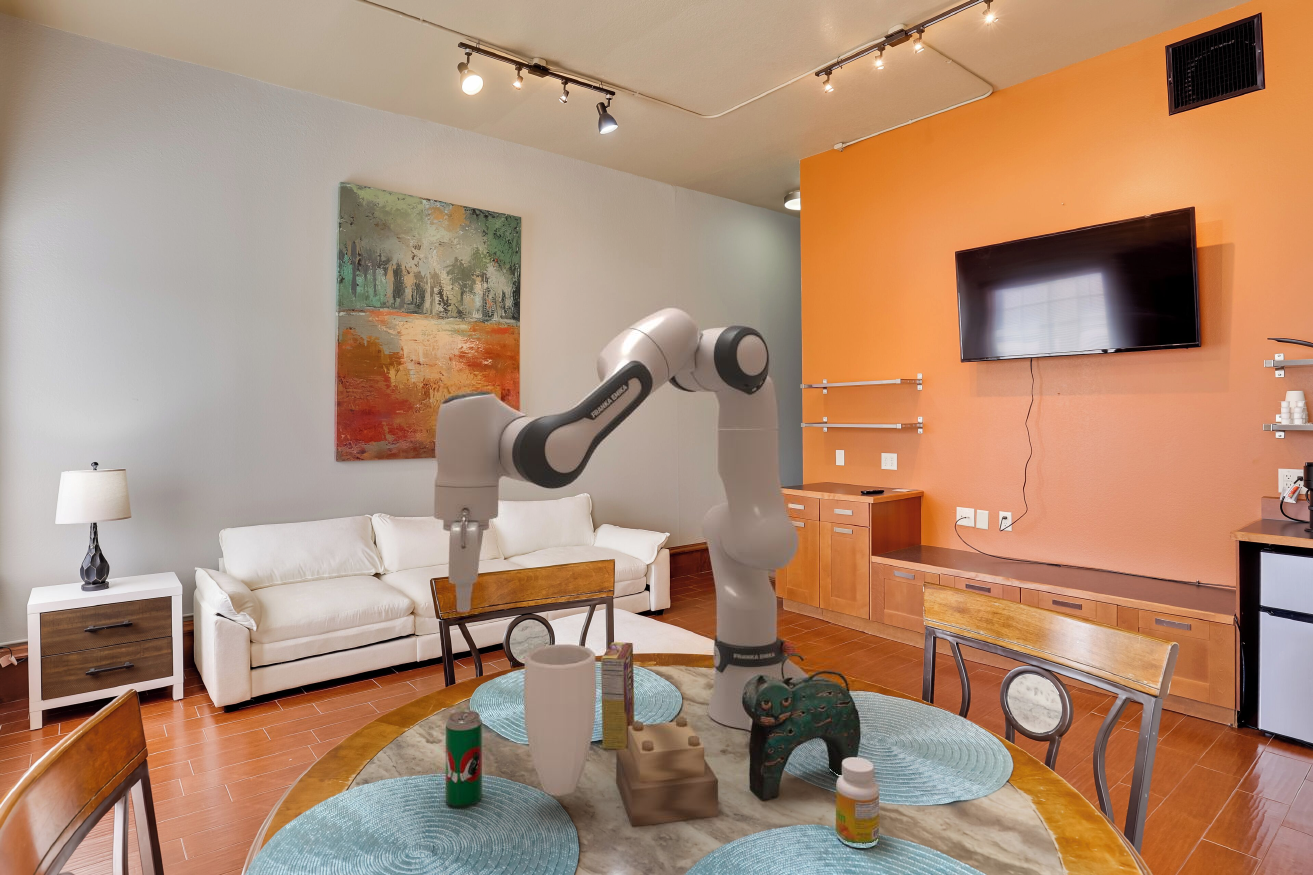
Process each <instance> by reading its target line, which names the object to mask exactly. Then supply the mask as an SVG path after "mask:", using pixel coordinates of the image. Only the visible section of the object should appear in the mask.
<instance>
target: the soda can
mask: <svg viewBox="0 0 1313 875" xmlns="http://www.w3.org/2000/svg"><path fill="white" fill-rule="evenodd" d="M480 716H481V715H480V713H479V712H478V711H475V710H459V711H456V712H454V713H452V714H450V715H449V716H448V718H447V720H448V721H447V722H446V723H445V801H446V802H447V804H449V805H450V806H451V807H454V808H466V807H471V806H473V805H475V804H477V802H478V801H479V800H480V799H481V798H482V796H483V721H482V718H480ZM470 805H471V806H470Z"/></svg>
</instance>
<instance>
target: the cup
mask: <svg viewBox="0 0 1313 875" xmlns="http://www.w3.org/2000/svg"><path fill="white" fill-rule="evenodd" d="M596 667H597V666H596V654H595V652H594V651H593V650H592V649H590V647H586V646H583V645H577V644H564V643H563V644H551V645H544V646H540V647H536V648H534V649H532V650H530V651H529V652H527V654H526V656H525V658H524V678H523V679H524V680H523V708H524V709H523V711H524V727H525V732H526V733H525V734H526V737H527V743H528V746H529V753H530V758H531V760H532V762H533V766H534V768H535V771H536V772H535V773H536V775H537V778H538V780H539V783H540V785H541V786H542V789H543V791H544V792H545V793H546V794H548V795H551V796H565V795H569V794H572V793H573V792H574V791H575V790H576V789H577V787H578V785H579V783H580V780H581V778H582V777H583V776H582V775H583V773H584V770H585V766H586V764H587V760H588V757H589V753H590V747H591V743H592V737H593V732H594V728H595V722H596V721H595V720H596V704H597V703H596V702H597V701H596V699H597V674H596V673H597V670H596V669H597V668H596Z"/></svg>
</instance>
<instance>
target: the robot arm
mask: <svg viewBox="0 0 1313 875" xmlns="http://www.w3.org/2000/svg"><path fill="white" fill-rule="evenodd" d="M769 366H770V354H769V348H768V345H767V343H766V340H765V338H764V337H763V335H762V334H761V333H760V332H759V331H758V330H756V329H755V328H753V327H750V326H745V325H731V326H729V327H727V326H726V327H725V326H723V327H712V328H707V329H705V330H702V331H700V330H699V328H698V326H697V324H696V322H695V320H694V319H693V318H692V317H691V316H690V315H689V314H688V312H685V311H684V310H681V309H680V308H676V307H667V308H664V309H663V308H662V309H661V310H659V311H655V312H653V313H652V314H650V315H647V316H645V317H644V318H642V319H640V320H638V321H636V322H635V323H633V324H632V325H630V326H628V327H627V328H626V329H625V330H623V331H622V332H621V333H619V334H618V335H616V336H615V337H613V339H612V340H611V341H609V342H608V343H607V344H606V346H605V347H604V348H602V350H601V352H599V353H598V356H597V361H596V370H597V375H598V379H599V381H600V383H599V385H597V386H596V387H595V388H594V389H593V390H592V391H590V392H589V393H588V394H587V395H586V396H585V397H583V398H582V399H581V400H580V401H578V403H576V404H575V405H574V406H572V408H570V409H568V410H566V411H564V412H561V413H557V414H550V415H544V416H530V415H529V416H528V415H527V414H525V413H523V412H521V411H519V410H516V409H515V408H513V407H511V406H509V405H507V403H504V402H503V401H502V400H500V399H499V398H498V397H497V396H496V394H495V393H493V392H490V391H475V392H469V393H467V392H466V393H461V394H455V395H450V396H448V397H447V398H445V400H443V401H442V403H441V404H440V407H439V409H438V413H437V414H438V415H437V420H436V428H435V429H436V430H435V440H434V441H435V443H434V444H435V445H434V449H435V450H434V455H435V459H436V462H437V472H436V477H435V479H434V493H433V494H434V496H433V497H434V500H433V503H434V505H433V518H434V519H436V520H441V521H443V522H442V530H444V531H447V532H449V539H448V540H449V544H448V545H449V546H448V547H449V548H448V582H449V583H450V584H453V585H455V596H456V610H457V612H458V613H468V612H469V611H471V608H472V607H471V605H472V604H471V603H472V602H471V600H472V594H473V590H474V589H473V586H474V585H473V584H475V583H476V582H477V581H478V577H479V569H480V568H479V566H480V557H481V556H480V555H481V550H482V543H483V539H484V538H483V537H484V531H488V530H489V529H490V520H493V519H497V518H498V517H499V495H500V492H499V486H500V485H499V484H500V482H499V481H500V479H501V478H502V477H505V478H508V479H512V480H517V481H520V482H526V483H529V484H530V483H531V484H533V485H535V486H539V487H542V488H544V489H551V490H553V489H560V488H564V487H566V486H569V485H571V484H572V483H573V482H575V480H577V479H578V478H579V477H580V476H581V474H582V473H583V471H584V470H585V468H586V467H587V465H588V463H589V461H590V459H591V458H592V456H593V454H594V452H595V451H596V449H597V448H598V447H599V445H600V444H601V443H602V442H603V441H604V440H605V439H606V438H607V437H608V436H610V434H611V433H612V432H613V431H614V430H616V428H618V427H619V426H620V425H621V424H622V423H623V422H624V421H625V420H626V419H627V418H628V417H629V416H630V415H631V414H632V413H633V412H635V411H636V409H637V408H639V406H641V404H642V403H644V401H645V400H646V399H647V398H648V397H649V396H651V395H652V394H654V393H655V392H657V390H659V389H660V388H661V387H662V386H663V385H665V384H666V383H667V382H668V383H670V385H672V386H673V387H674V388H676V389H678V390H680V391H685V392H689V393H696V392H702V393H714V395H715V397H716V399H717V402H718V407H719V408H718V417H717V429H718V430H717V470H718V471H717V472H718V475H719V477H720V479H721V481H722V483H723V487H724V490H725V495H726V500H727V501H726V502H725V501H723V502H721V503H718V504H715V505H713V506H712V507H711V508H710V509H708V510H707V512H706V513H705V515H704V517H703V520H702V524H701V525H702V526H701V529H702V530H701V531H702V534H703V535H702V536H703V538H704V539H705V542H706V545H707V548H708V552H709V558H710V564H711V569H712V574H713V581H714V585H715V587H714V588H715V593H716V594H715V596H716V634H715V636H714V643H713V644H714V645H713V664H714V668H715V670H714V678H713V686H712V692H711V696H710V701H709V705H708V707H707V710H706V711H707V712H706V713H707V715H708V716H709V717H710V718H711V719H712V720H713V721H715V722H716V723H719V724H722V725H725V726H727V727H731V728H736V729H743V730H746V731H750V732H751V726H752V719H751V718H750V717H749V715H748V714H747V713H746V712H745V710H744V708H743V704H742V696H743V690H744V687H745V685H746V683H747V682H748V681H749V680H750V679H752V678H753V677H755V676H757V675H768V676H771V677H774V678H777V679H783V678H782V673H781V667H782V661H783V659H784V657H786V656H787V655H789V654H791V653H796V652H797V649H796V646H795V645H793V643H791V642H788V641H787V642H786V641H785V640H784V639H781V638H780V637H778V636H777V629H778V626H777V624H778V623H777V621H778V620H777V618H778V617H777V616H778V613H777V612H778V611H777V610H778V608H777V607H778V605H777V604H778V603H777V602H778V599H777V594H776V592H775V590H774V588H773V586H772V583H771V581H770V578H769V577H770V576H769V574H768V571H775V570H781V569H783V568H784V567H786V566H788V565H789V564H790V563H791V562H792V561H793V560H794V558H795V556H796V555H797V553H798V548H799V542H800V539H799V534H798V530H797V528H796V526H795V525H794V523H793V522H792V520H791V518H790V515H789V513H788V510H787V506H786V503H785V499H784V493H783V489H782V485H781V480H780V474H779V472H780V471H779V419H778V418H779V417H778V416H779V415H778V405H777V398H776V392H775V386H774V382H773V380H772V379H771V377H770V376H769V368H770V367H769ZM783 674H784V678H787V677H793V679H792V680H795V679H799V678H803V677H809V676H810V675H808V674H807V673H806V672H805V671H803V669H802V668H800V667H799V666H798V665H796V664H795V663H794V662H793V661H791V660H789V658H788V659H787V660H786V661H785V663H784V666H783ZM792 680H791V681H792Z"/></svg>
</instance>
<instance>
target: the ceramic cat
mask: <svg viewBox="0 0 1313 875" xmlns="http://www.w3.org/2000/svg"><path fill="white" fill-rule="evenodd" d="M785 656H786V657H784V659H783V661H782V667H781V673H782V678H783V679H777V678H774V677H771V676H768V675H757V676H755V677H753V678H752V679H750V680H749V681H748V682H747V683H746V685H745V687H744V690H743V696H742V704H743V708H744V710H745V712H746V713H747V714H748V715H749V717H750V718H751V719H752V726H751V731H750V736H749V745H748V746H749V747H748V752H749V772H748V776H749V790H750V791H751V793H752V794H754V796H756V797H757V798H758V799H759V800H761V801H762V802H764V801H765V802H766V801H769V800H773V799H777V798H778V797H779V793H780V787H781V781H782V776H783V772H784V770H785V767H786V765H787V764H788V761H789V758H790V757H791V754H792V753H793V752H794V750H795V749H796V748H797V747H799V746H801V745H803V744H804V743H807V742H809V741H811V740H815V739H820V740H822V741H823V742H824V743H825V746H826V752H827V758H828V767H829V768H830V769H831V770H832V771H833V772H835V773H836V774H838V775H842V761H843V760H844V759H846V758H850V757H858V754H859V749H860V743H861V737H862V736H861V719H860V715H859V714H860V713H859V711H858V709H857V706H856V703H855V701H854V698H853V696H852V694H851V693H850V692H851V691H850V687H849V684H848V680H847V679H846V677H845V676H844V675H843V674H842V673H841V672H838V671H835V670H820V671H817V672H815V673H813V674H810V675H808V676H809V677H803V678H799V679H795V680H792V679H793V677H787V678H784V674H783V666H784V663H785V661H786V660H787V659H788V660H789V658H790V657H791V658H792V657H798V658H799V659H800V660H801V662H803V661H805V659H804V656H802V655H801V654H800V653H796V652H795V653H791V654H789V655H787V654H786V655H785ZM823 674H824V675H825V674H827V675H828V674H829V675H835V676H838V677H839V678H841V680H842V681H843V682H844V683H845V687H846V688H845V687H844V686H842V685H841V684H839V683H837V682H835V681H833V680H831V679H829V678H827V677H824V676H819V675H823ZM791 680H792V681H791ZM829 768H828V769H829Z"/></svg>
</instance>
